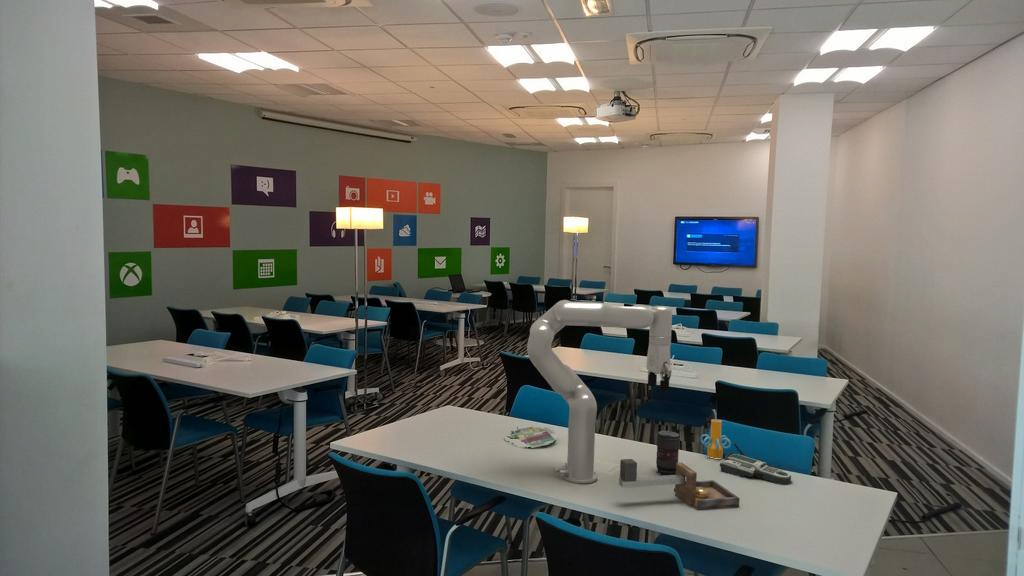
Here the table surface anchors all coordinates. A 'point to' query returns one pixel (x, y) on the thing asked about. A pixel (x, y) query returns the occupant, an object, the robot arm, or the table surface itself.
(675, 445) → the camera lens
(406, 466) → the table surface
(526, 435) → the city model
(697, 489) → the gold dome
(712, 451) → the orange vase with handles
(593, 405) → the robot arm
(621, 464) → the grey sliding bolt
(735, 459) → the communication device
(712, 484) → the guide frame
